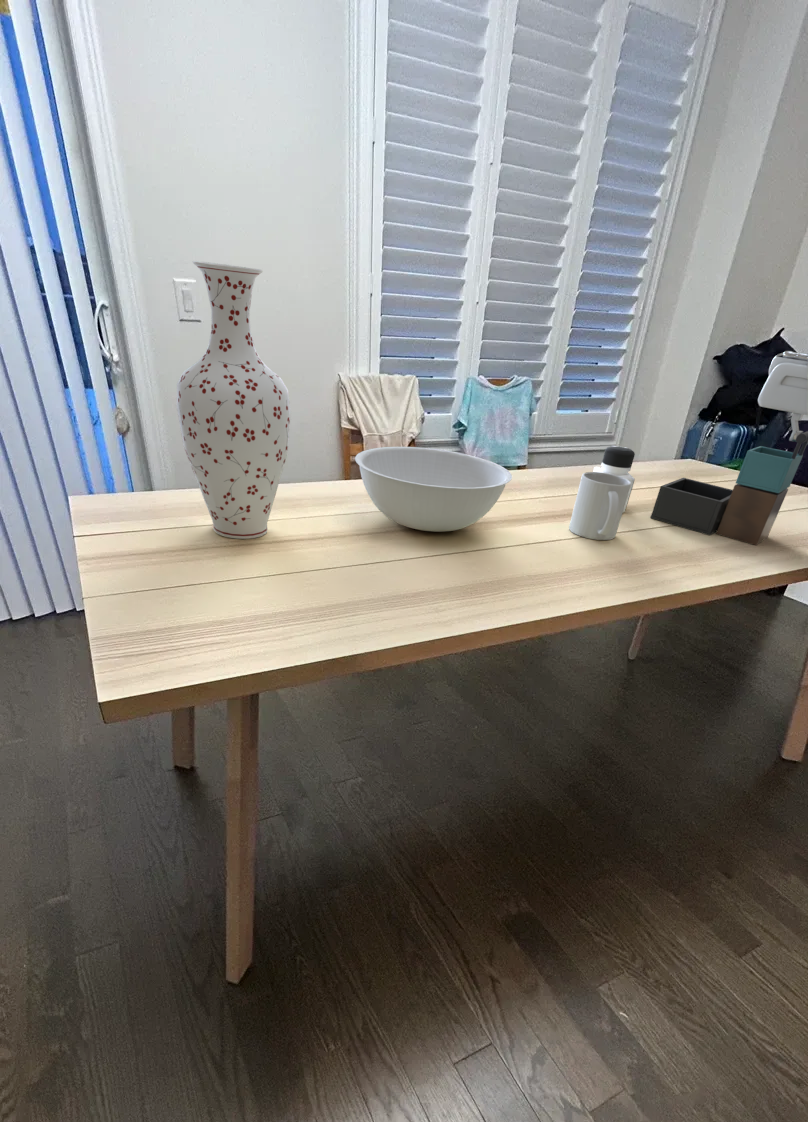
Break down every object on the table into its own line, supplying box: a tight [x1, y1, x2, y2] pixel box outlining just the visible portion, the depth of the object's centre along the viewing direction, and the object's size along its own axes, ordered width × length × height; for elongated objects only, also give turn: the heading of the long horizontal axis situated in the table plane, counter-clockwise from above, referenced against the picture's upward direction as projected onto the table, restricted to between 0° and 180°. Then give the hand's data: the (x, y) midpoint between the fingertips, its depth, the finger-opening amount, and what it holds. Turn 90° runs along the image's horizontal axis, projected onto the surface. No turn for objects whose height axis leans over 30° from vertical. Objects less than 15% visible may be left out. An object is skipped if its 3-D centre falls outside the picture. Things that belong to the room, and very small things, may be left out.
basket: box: [650, 477, 733, 536], centre depth 133 cm, size 13×14×7 cm
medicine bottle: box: [592, 445, 636, 513], centre depth 134 cm, size 7×7×12 cm
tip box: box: [735, 430, 808, 493], centre depth 121 cm, size 8×9×10 cm
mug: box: [568, 471, 631, 541], centre depth 117 cm, size 11×10×10 cm
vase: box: [176, 260, 292, 540], centre depth 92 cm, size 16×16×35 cm
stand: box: [715, 483, 789, 546], centre depth 127 cm, size 8×9×10 cm
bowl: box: [354, 446, 513, 533], centre depth 112 cm, size 27×27×10 cm
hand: (802, 443), depth 117 cm, fingers closed, pressing on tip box
